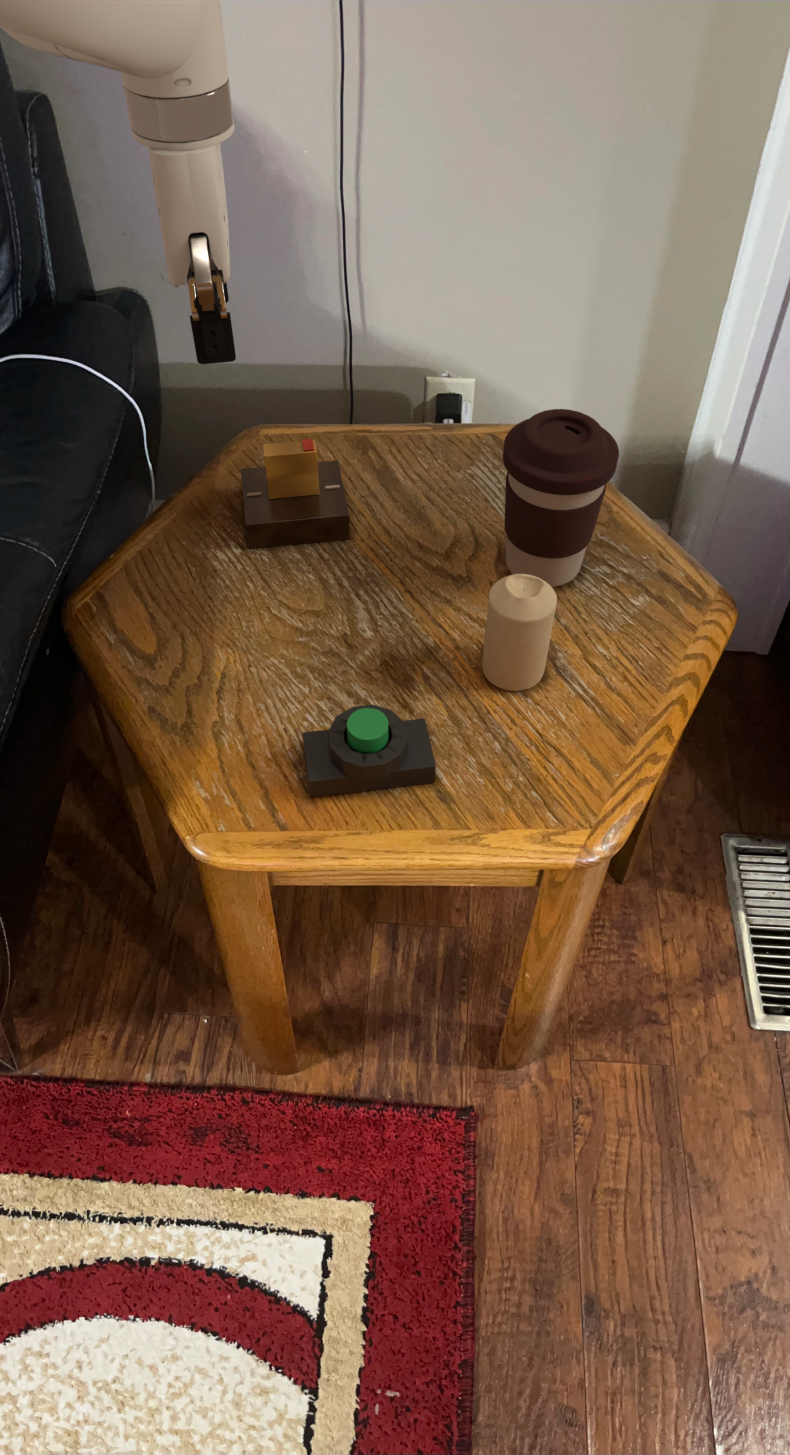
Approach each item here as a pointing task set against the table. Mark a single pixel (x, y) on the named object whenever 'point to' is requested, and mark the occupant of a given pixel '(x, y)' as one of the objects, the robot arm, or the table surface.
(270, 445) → the thumbturn
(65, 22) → the robot arm
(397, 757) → the dark grey button housing
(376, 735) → the arm button
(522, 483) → the coffee cup
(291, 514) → the plate
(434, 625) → the table surface
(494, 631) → the candle
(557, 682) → the table surface
